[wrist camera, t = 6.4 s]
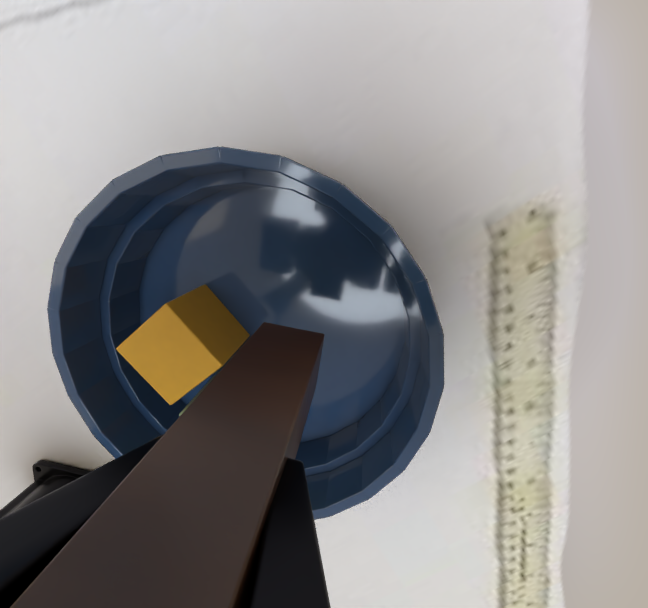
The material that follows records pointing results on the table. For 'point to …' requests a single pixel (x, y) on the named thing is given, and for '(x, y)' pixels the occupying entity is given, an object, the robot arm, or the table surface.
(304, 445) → the bowl
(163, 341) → the mustard block
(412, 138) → the table surface
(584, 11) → the table surface
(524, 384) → the table surface
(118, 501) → the dark brown bar
